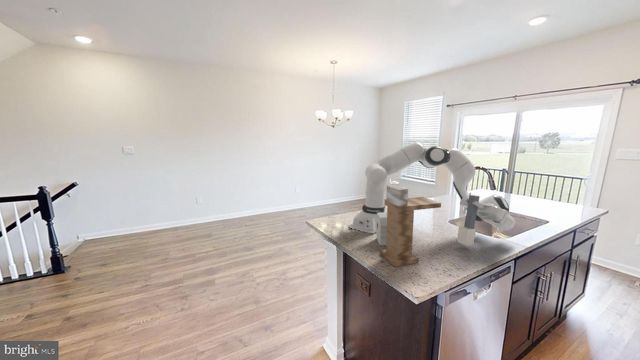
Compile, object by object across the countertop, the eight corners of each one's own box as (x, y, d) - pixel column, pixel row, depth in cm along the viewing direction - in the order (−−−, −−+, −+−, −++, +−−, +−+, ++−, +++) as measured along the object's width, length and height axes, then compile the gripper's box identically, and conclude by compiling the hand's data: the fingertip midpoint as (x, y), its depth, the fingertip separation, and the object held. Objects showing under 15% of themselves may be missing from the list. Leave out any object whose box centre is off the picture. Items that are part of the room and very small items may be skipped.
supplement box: (375, 238, 133) (376, 212, 130) (392, 238, 133) (393, 212, 130) (379, 245, 124) (380, 217, 122) (397, 245, 124) (398, 217, 121)
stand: (419, 248, 120) (423, 182, 115) (437, 259, 109) (442, 187, 104) (379, 254, 114) (381, 185, 109) (394, 266, 103) (396, 190, 98)
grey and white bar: (472, 194, 120) (464, 194, 118) (481, 196, 115) (473, 196, 114) (464, 241, 123) (456, 241, 121) (473, 245, 118) (465, 245, 117)
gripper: (473, 202, 131) (455, 191, 127) (512, 212, 111) (493, 200, 107) (467, 212, 131) (450, 202, 127) (505, 224, 111) (486, 212, 107)
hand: (470, 201), depth 117 cm, fingers closed on grey and white bar, 3 cm apart
